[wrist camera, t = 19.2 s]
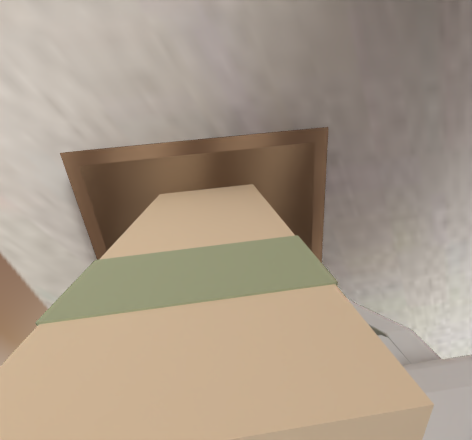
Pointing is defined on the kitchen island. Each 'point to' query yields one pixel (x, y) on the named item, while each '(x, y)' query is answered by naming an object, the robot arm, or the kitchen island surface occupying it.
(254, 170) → the brown wooden tray
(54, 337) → the slim carton
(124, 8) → the kitchen island surface
